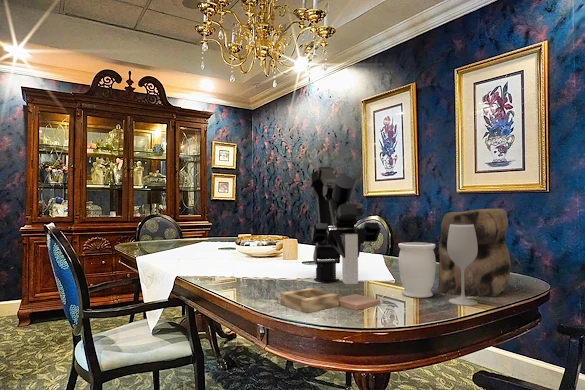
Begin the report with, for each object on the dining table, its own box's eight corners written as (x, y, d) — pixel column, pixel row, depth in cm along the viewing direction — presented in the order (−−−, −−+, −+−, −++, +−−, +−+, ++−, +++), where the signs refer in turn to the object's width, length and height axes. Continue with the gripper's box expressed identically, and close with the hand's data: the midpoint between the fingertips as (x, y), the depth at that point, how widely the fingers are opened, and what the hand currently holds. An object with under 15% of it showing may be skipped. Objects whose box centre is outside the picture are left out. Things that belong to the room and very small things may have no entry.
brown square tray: (311, 298, 113) (311, 287, 113) (338, 305, 104) (338, 294, 104) (280, 304, 106) (280, 293, 106) (306, 313, 98) (306, 300, 98)
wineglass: (482, 306, 102) (480, 225, 103) (450, 305, 104) (449, 225, 104) (474, 299, 110) (473, 223, 110) (445, 298, 111) (444, 223, 112)
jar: (417, 300, 109) (416, 246, 109) (391, 293, 118) (390, 243, 118) (444, 296, 114) (443, 244, 114) (417, 289, 123) (417, 241, 123)
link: (342, 281, 108) (342, 233, 108) (354, 281, 108) (354, 233, 108) (345, 283, 104) (345, 234, 104) (358, 283, 104) (357, 234, 105)
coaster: (355, 298, 112) (355, 294, 112) (380, 304, 105) (380, 299, 105) (332, 303, 107) (332, 298, 107) (356, 310, 100) (356, 305, 100)
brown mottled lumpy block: (508, 300, 108) (506, 209, 109) (432, 292, 119) (430, 209, 120) (514, 287, 125) (512, 208, 125) (446, 281, 136) (445, 208, 136)
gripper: (312, 194, 109) (320, 237, 98) (378, 193, 111) (392, 236, 100) (308, 221, 117) (315, 264, 106) (369, 220, 119) (382, 262, 108)
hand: (351, 256), depth 105 cm, fingers closed on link, 3 cm apart
